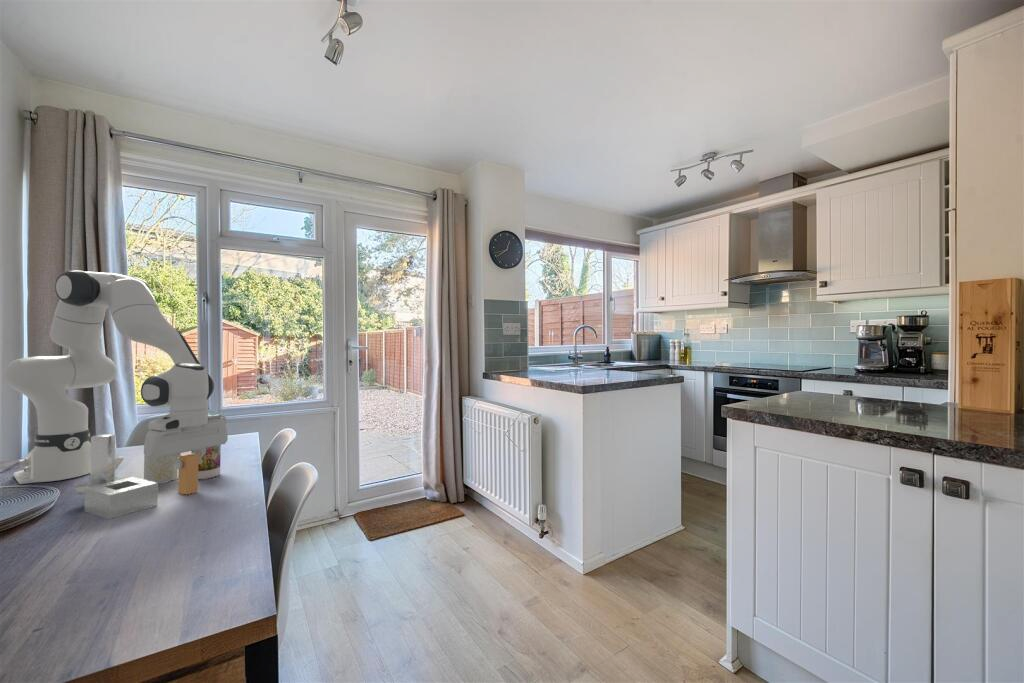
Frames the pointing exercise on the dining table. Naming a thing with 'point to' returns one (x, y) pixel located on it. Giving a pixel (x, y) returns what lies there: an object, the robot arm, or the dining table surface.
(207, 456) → the milk bottle
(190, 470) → the tan wooden block
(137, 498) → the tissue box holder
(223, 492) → the dining table surface
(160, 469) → the cup
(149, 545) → the dining table surface
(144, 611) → the dining table surface
